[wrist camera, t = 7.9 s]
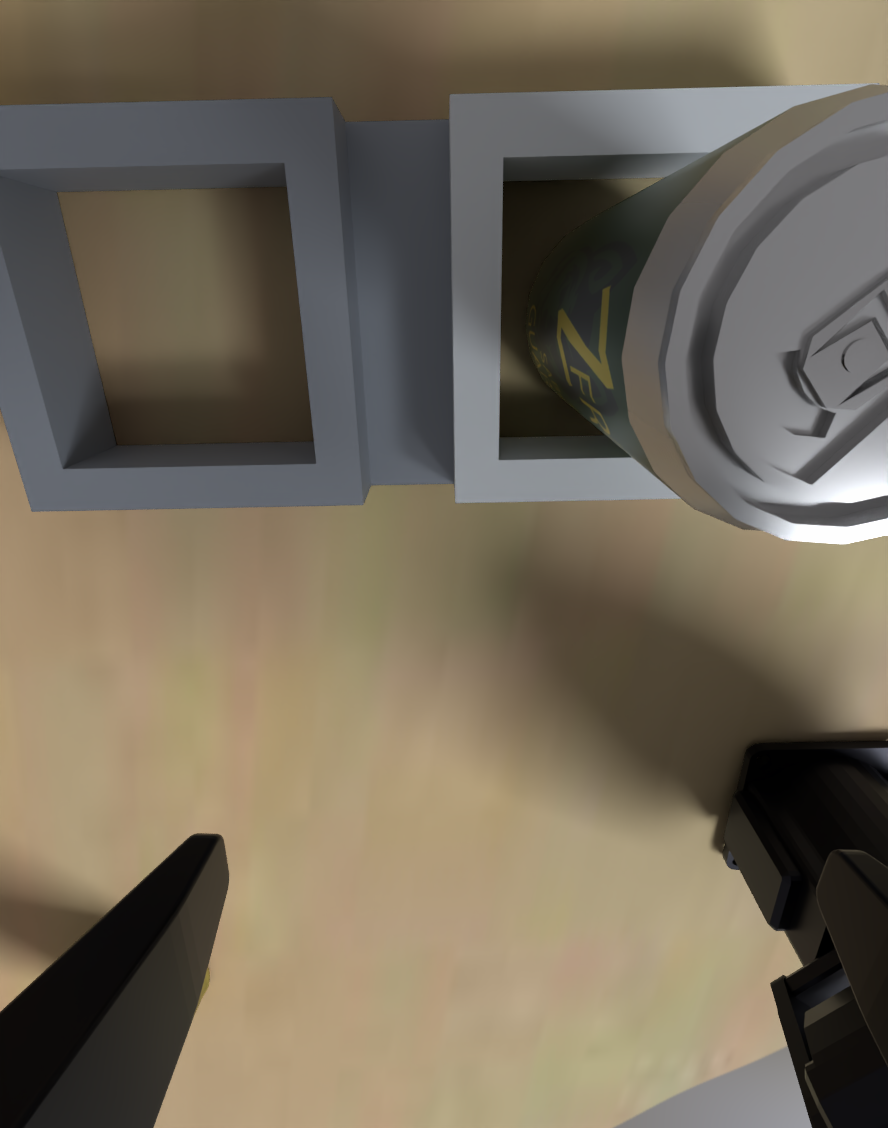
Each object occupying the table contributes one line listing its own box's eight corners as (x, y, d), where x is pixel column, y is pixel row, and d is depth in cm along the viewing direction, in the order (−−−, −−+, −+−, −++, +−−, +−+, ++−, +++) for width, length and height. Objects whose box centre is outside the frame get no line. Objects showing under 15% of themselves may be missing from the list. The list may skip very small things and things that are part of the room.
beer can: (639, 166, 16) (1036, -108, 5) (739, 327, 18) (1201, 370, 7) (485, 307, 18) (551, 318, 7) (591, 444, 19) (783, 634, 8)
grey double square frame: (803, 121, 16) (879, 83, 13) (741, 469, 20) (790, 496, 17) (-1, 141, 16) (-92, 107, 13) (88, 482, 20) (32, 511, 17)
